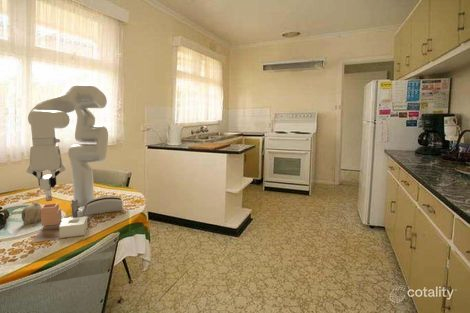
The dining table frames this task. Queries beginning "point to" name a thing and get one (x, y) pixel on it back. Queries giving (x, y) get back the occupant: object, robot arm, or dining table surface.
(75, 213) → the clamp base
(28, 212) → the grey rounded lump
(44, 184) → the steel key
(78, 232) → the white holed block
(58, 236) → the grey flat plate
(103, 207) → the grey arched block
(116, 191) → the dining table surface
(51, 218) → the block
